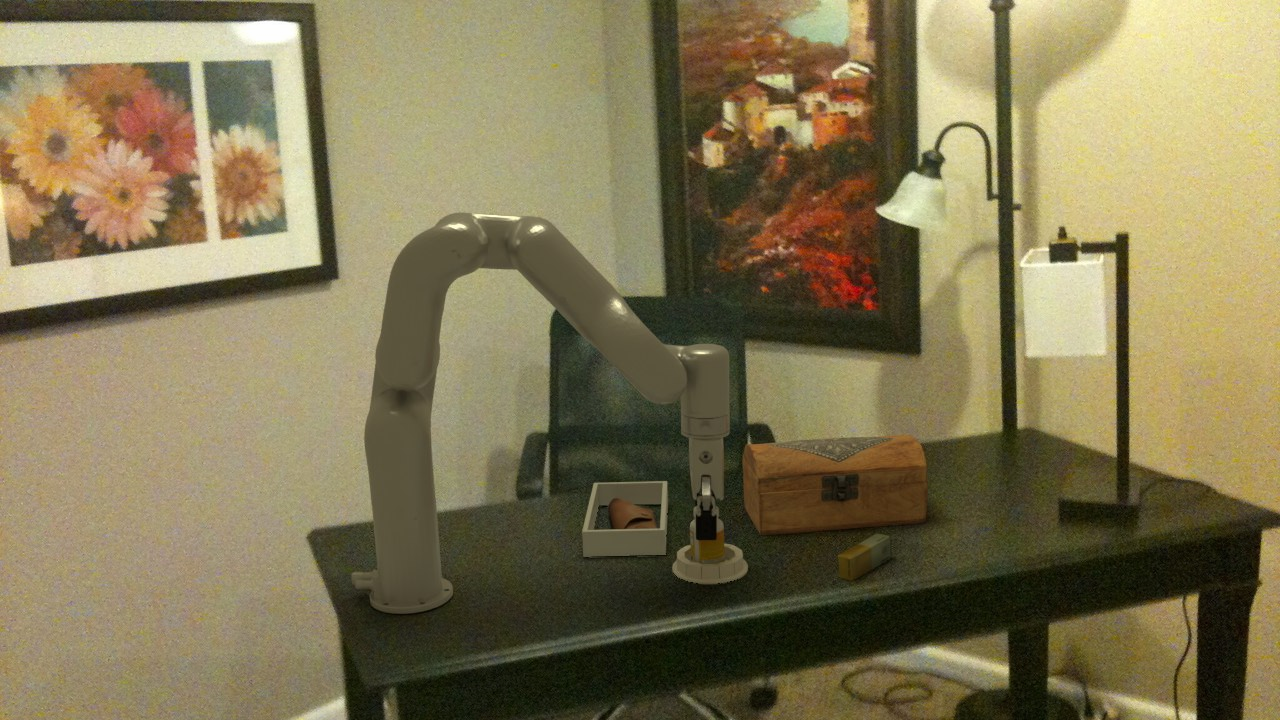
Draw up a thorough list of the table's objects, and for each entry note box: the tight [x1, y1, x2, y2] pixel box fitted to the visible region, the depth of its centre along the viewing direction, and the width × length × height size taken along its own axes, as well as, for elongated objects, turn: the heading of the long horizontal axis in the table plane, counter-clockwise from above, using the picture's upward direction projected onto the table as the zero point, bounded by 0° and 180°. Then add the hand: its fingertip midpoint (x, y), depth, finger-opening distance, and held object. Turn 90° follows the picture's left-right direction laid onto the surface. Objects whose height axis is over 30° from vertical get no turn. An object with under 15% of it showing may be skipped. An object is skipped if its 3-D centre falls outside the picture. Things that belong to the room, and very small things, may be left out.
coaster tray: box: [671, 542, 749, 585], centre depth 191 cm, size 12×12×3 cm
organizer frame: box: [581, 480, 669, 558], centre depth 210 cm, size 14×26×4 cm, turn 178°
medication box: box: [837, 532, 893, 582], centre depth 190 cm, size 12×3×4 cm, turn 138°
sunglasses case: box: [607, 498, 659, 529], centre depth 210 cm, size 18×7×7 cm
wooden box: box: [742, 434, 929, 536], centre depth 212 cm, size 30×16×14 cm, turn 95°
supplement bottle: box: [689, 505, 725, 564], centre depth 190 cm, size 5×5×10 cm
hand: (705, 528), depth 190 cm, fingers open, 9 cm apart
